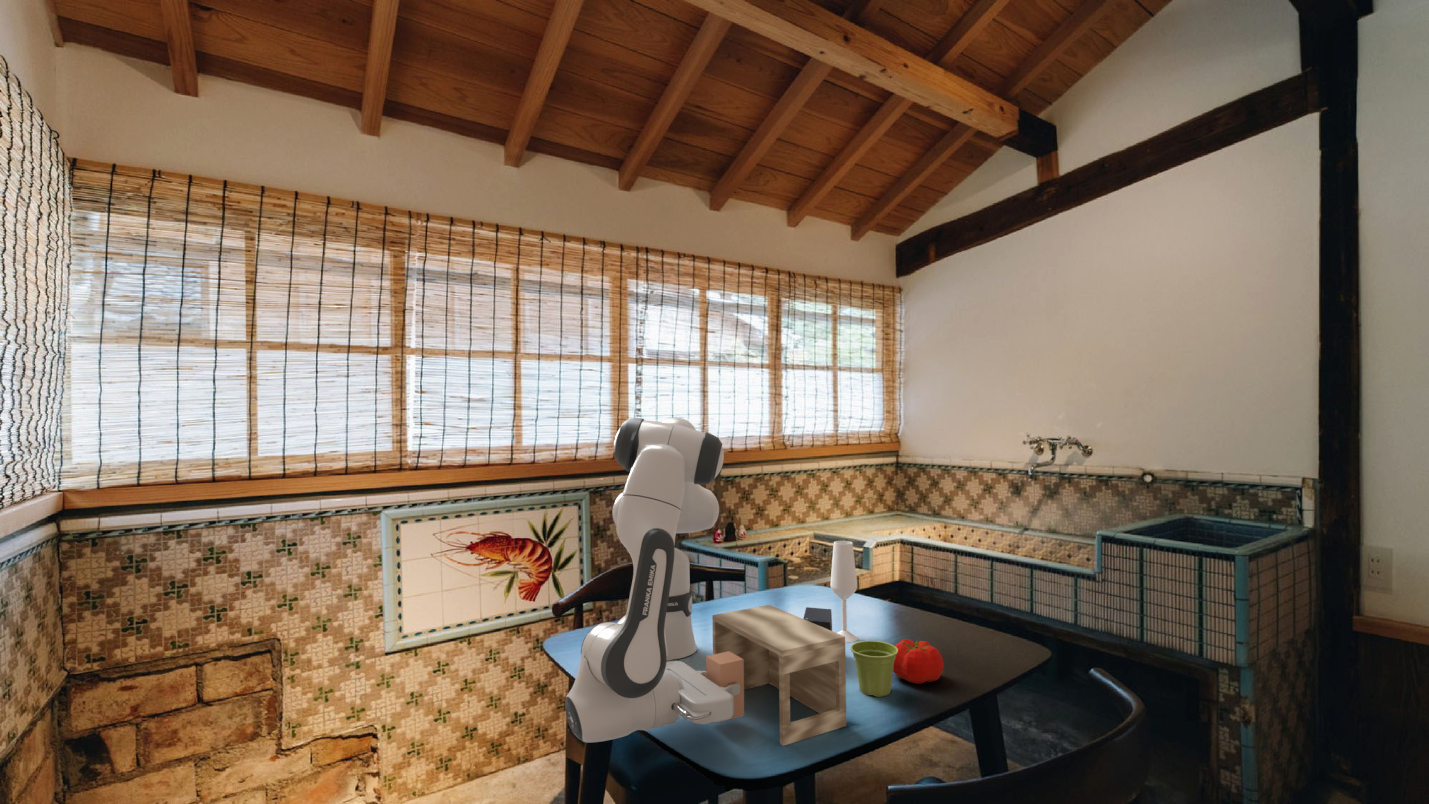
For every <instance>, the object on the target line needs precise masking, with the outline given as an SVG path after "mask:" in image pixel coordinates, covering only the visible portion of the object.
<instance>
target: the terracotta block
mask: <svg viewBox="0 0 1429 804" xmlns="http://www.w3.org/2000/svg"><path fill="white" fill-rule="evenodd" d="M705 671H706V678H707V679H709V680H710V681H712V682H713V683H715V684H716V685H718V686H719V687H724V688H725V687H727V686H728V683H731V682H736V683H738V684H739V685H740V694H738V695H734V696H733V697H734V715H733V716H732V717H731V718H730V719H728V720H729V721H730V720H732V719H735V718H739V717H743V716H745V690H744V659H742V658H740V657H739V656H737V655H735V654H733V653H732V652H730V651H728V652H723V653H718V654H714V655H713V654H710V655H706V656H705ZM728 720H727V721H728ZM724 721H726V720H724ZM724 721H723V722H724ZM719 722H720V723H721V722H722V721H719Z"/></svg>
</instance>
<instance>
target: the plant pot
mask: <svg viewBox="0 0 1429 804" xmlns="http://www.w3.org/2000/svg"><path fill="white" fill-rule="evenodd" d="M849 648H850V650H851V652H852V655H853V659H854V660H855V662H854V663H855V666H856V668H855V669H856V672H857V673H856V674H857V679H858V687H859V690H860V692H861V693H862V694H864V695H866V696H872V695H873V696H874V697H878V698H880V697H887V696H888V695H890V693H891V692H892V684H893V683H892V681H893V673H894V672H893V666H894V661H895V658H896V654H897V653H898V649H897V648H896V647H895V644H894V645H893V644H891V643H889V642H885V641H878V640H863V641H862V640H861V641H857V642H855V643H853V644H851V645H850V647H849Z"/></svg>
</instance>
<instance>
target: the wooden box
mask: <svg viewBox="0 0 1429 804" xmlns="http://www.w3.org/2000/svg"><path fill="white" fill-rule="evenodd" d="M711 616H712V655H714V654H718V653H723V652H728V651H730V652H732V653H733V654H735V655H737V656H739V657H740V658H742V659H744V691H745V690H748V689H753V688H756V687H760V686H764V685H767V684H769V685H771V686H773V687H774V688H776V689H778V697H779V699H778V700H779V702H778V703H779V704H778V705H779V706H778V707H779V709H778V710H779V711H778V712H779V744H780V745H781V746H787V745H792V744H794V743H796V742H799V741H800V742H801V741H804V740H806V739H809V738H812V737H816V736H819V735H821V734H826V733H828V732H829V733H830V732H832V731H835V730H837V729H842V728H844V727H847V684H846V683H847V680H846V678H847V675H846V673H847V672H846V671H847V669H846V663H847V662H846V642H845V636H842V635H840V634H838V632H835V631H833V630H832V631H831V630H828V629H826V628H823V627H821V626H819V625H816V624H814V623H811V622H809V621H807V620H804V619H803V618H802V617H800V616H797V615H795V614H792V613H791V612H790V613H789V612H787V611H786V610H783V609H780V608H778V607H776V606H773V605H770V604H767V605H762V606H757V607H751V608H745V609H739V610H734V611H729V612H723V613H717V614H712V615H711ZM790 697H791V698H792V699H795V700H796V701H798V702H800V703H801V704H803V705H805V706H806V707H808V708H810V710H813V711H814V712H816V713H818V714H815V715H811V716H807V717H804V718H800V719H798V720H794V721H791V698H790Z"/></svg>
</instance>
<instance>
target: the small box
mask: <svg viewBox="0 0 1429 804" xmlns="http://www.w3.org/2000/svg"><path fill="white" fill-rule="evenodd" d="M802 619H804V620H807V621H809V622H811V623H814V624H816V625H819V626H821V627H823V628H826V629H828V630H831V631H833V613H832V609H831V608H819V607H808V606H807V607H805V611H804V615H803V618H802Z"/></svg>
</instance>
